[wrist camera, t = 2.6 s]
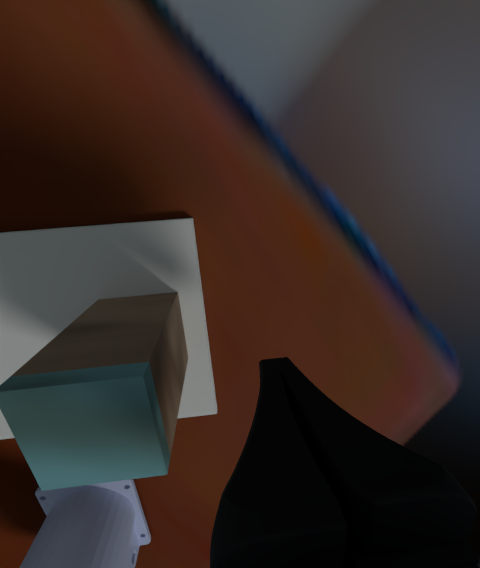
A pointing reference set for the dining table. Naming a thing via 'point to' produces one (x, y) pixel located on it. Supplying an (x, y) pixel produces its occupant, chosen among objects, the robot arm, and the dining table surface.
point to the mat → (101, 290)
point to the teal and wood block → (102, 394)
